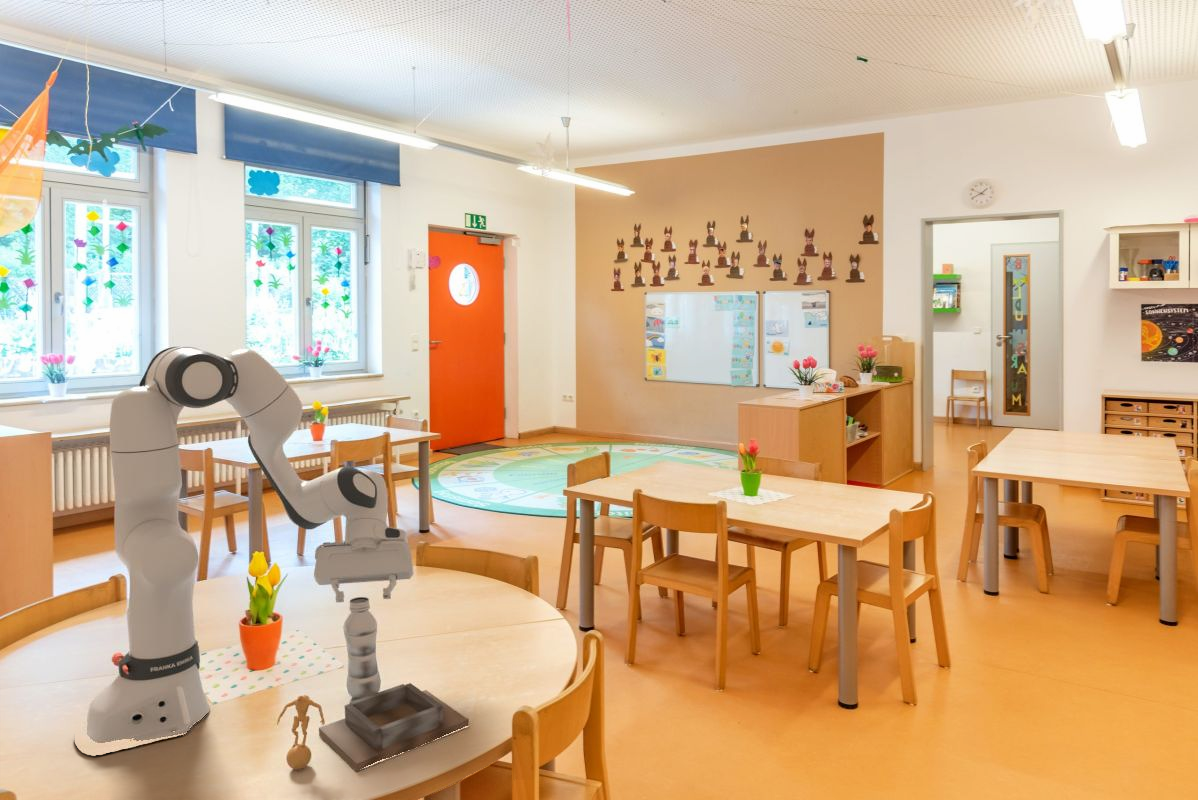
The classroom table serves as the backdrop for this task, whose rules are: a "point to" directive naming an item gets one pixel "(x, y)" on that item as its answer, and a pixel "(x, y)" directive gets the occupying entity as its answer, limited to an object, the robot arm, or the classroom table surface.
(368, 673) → the plastic bottle
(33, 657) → the classroom table surface
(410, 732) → the bottle holder board
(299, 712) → the figurine
